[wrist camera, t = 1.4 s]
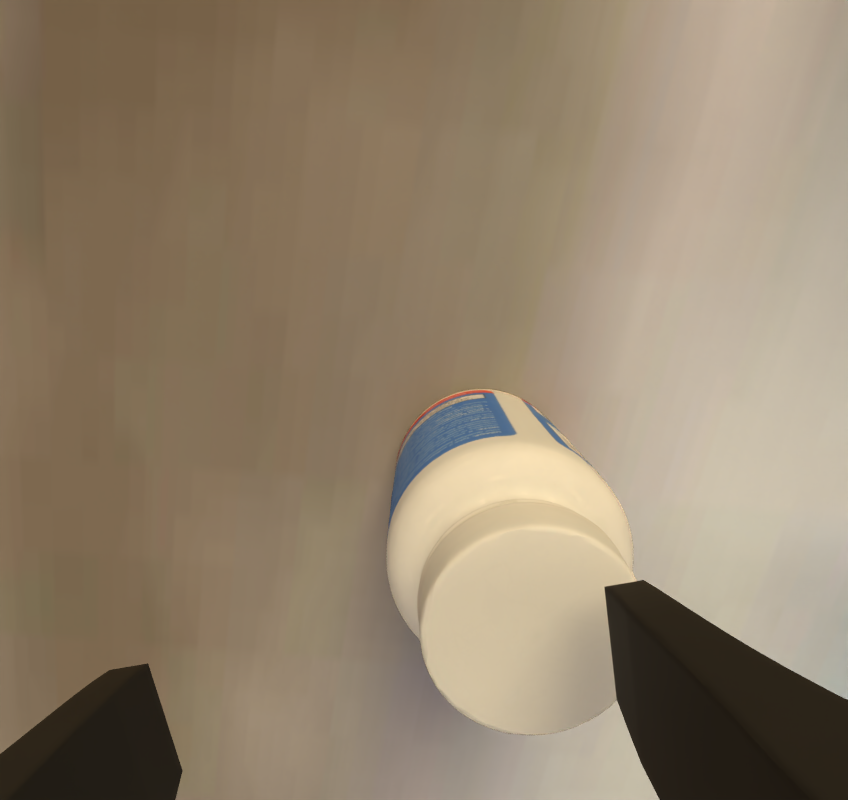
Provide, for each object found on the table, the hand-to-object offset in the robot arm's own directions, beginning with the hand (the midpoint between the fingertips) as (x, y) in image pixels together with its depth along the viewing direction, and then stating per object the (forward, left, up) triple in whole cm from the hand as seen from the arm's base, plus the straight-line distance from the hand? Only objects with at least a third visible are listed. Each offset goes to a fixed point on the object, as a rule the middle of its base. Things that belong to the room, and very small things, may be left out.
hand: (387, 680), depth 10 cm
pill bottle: (-2, 0, -11) cm, 11 cm away
